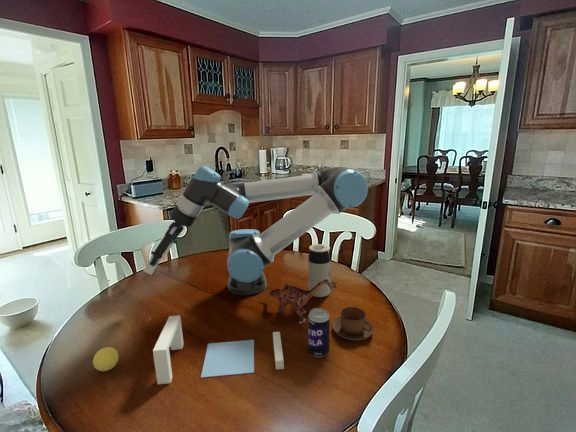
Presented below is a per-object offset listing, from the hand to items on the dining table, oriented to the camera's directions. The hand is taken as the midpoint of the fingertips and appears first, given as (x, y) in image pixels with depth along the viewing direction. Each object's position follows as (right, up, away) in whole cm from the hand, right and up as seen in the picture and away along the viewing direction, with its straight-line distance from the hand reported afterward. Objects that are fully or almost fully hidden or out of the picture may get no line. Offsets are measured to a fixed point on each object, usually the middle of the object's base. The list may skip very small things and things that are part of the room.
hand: (154, 264), depth 103 cm
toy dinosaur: (+46, -17, +1) cm, 49 cm away
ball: (-2, -20, -23) cm, 31 cm away
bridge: (+13, -22, -21) cm, 33 cm away
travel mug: (+56, -13, +15) cm, 59 cm away
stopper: (+41, -21, -18) cm, 50 cm away
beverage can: (+52, -21, -18) cm, 59 cm away
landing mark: (+28, -22, -19) cm, 41 cm away
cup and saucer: (+63, -19, -9) cm, 67 cm away
